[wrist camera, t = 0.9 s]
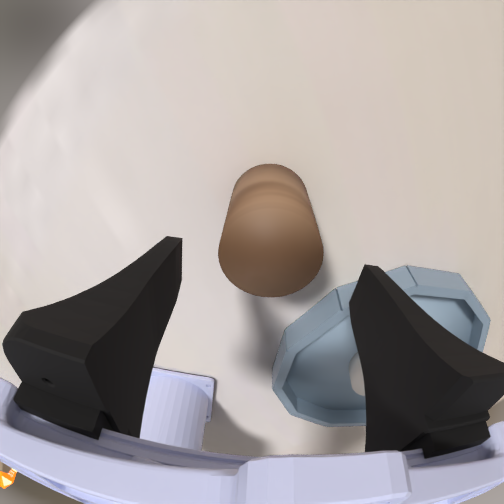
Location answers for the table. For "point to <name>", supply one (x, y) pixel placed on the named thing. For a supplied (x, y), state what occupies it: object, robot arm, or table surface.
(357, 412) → the round tray
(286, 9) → the table surface
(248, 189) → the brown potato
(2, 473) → the orange juice
